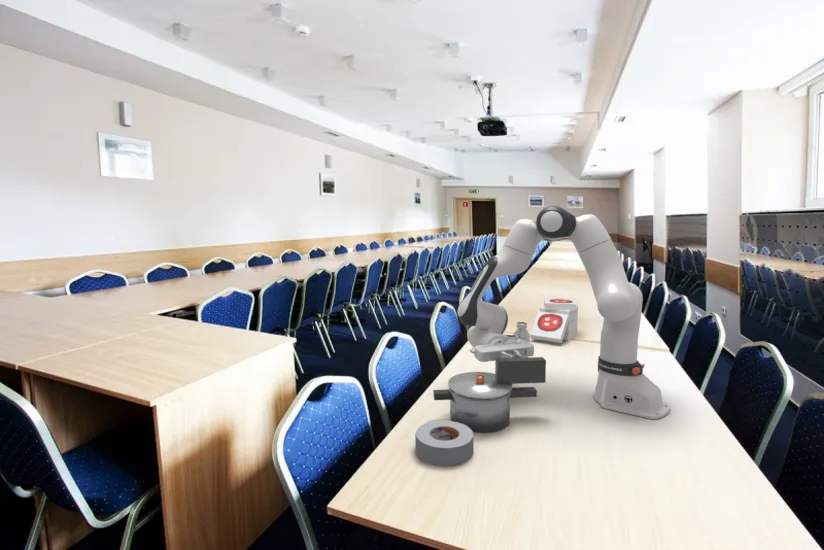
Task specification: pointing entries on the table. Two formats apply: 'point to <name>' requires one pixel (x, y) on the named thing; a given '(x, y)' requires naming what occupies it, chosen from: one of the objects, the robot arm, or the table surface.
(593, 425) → the table surface
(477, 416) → the cooker pot
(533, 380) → the lid
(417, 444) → the tape roll
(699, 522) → the table surface
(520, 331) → the plastic bottle
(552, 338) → the pizza boxes
